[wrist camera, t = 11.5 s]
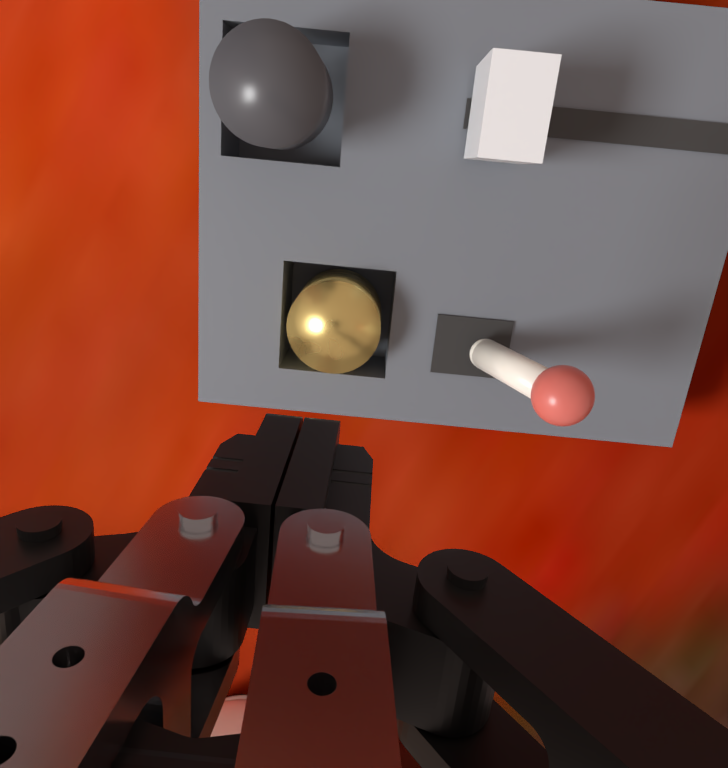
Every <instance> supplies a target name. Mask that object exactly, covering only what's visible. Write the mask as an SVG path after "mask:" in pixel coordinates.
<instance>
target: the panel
mask: <svg viewBox="0 0 728 768" xmlns="http://www.w3.org/2000/svg"><path fill="white" fill-rule="evenodd" d="M259 18H270V19H276V20H280V21H283V22H285V23H287V24H289V25H291V26H293V27H295V28H296V29H298V30H299V31H300V32H301V33H302V34H304V35H305V36H306V37H307V39H308V40H309V41H310V42H311V43H312V45H313V46H314V48H315V49H316V51H317V53H318V54H319V56H320V58H321V59H322V61H323V63H324V64H325V66H326V68H327V70H328V73H329V75H330V78H331V82H332V87H333V105H332V110H331V114H330V117H329V119H328V122H327V123H326V125H325V127H324V129H323V130H322V131H321V133H320V134H319V135H318V136H317V137H316V138H315V139H313V140H312V141H311V142H309V143H308V144H306V145H304V146H301V147H299V148H295V149H290V150H279V149H272V148H266V147H260V146H256V145H252V144H250V143H247V142H245V141H243V140H242V139H240V138H238V137H237V136H236V135H234V134H233V133H232V132H231V131H230V130H229V129H228V128H227V127H226V126H225V125H224V123H223V122H222V121H221V119H220V118H219V116H218V114H217V112H216V110H215V108H214V105H213V103H212V99H211V95H210V90H209V70H210V64H211V61H212V57H213V54H214V52H215V50H216V48H217V46H218V45H219V43H220V42H221V40H222V39H223V38H224V37H225V35H226V34H227V33H228V32H230V31H231V30H232V29H233V28H235V27H236V26H238V25H239V24H242V23H244V22H246V21H249V20H253V19H259ZM492 48H501V49H511V50H522V51H532V52H542V53H552V54H562V56H561V62H560V67H559V73H558V79H557V84H556V90H555V95H554V101H553V107H552V112H551V118H550V124H549V129H548V135H547V141H546V146H545V152H544V158H543V163H542V164H513V163H503V162H493V161H483V160H472V159H464V153H465V146H466V138H467V131H468V124H469V116H470V109H471V102H472V95H473V87H474V80H475V73H476V66H477V65H478V64H479V63H480V62H481V60H482V59H483V58H484V57H485V56H486V55H487V54H488V53H489V52H490V51H491V50H492ZM727 251H728V8H722V7H712V6H701V5H691V4H681V3H671V2H660V1H650V0H200V13H199V379H198V401H202V402H212V403H223V404H233V405H243V406H254V407H264V408H274V409H284V410H295V411H305V412H315V413H325V414H336V415H346V416H356V417H366V418H377V419H387V420H397V421H408V422H418V423H428V424H438V425H449V426H459V427H469V428H479V429H490V430H500V431H510V432H520V433H531V434H541V435H551V436H562V437H572V438H582V439H592V440H603V441H613V442H623V443H633V444H644V445H654V446H664V447H672V445H673V442H674V438H675V435H676V431H677V427H678V424H679V420H680V417H681V413H682V410H683V406H684V403H685V399H686V396H687V392H688V389H689V385H690V382H691V378H692V375H693V371H694V368H695V364H696V361H697V357H698V354H699V350H700V347H701V343H702V339H703V336H704V332H705V329H706V325H707V322H708V318H709V315H710V311H711V308H712V304H713V301H714V297H715V294H716V290H717V287H718V283H719V280H720V276H721V273H722V269H723V266H724V262H725V258H726V255H727ZM332 269H344V270H349V271H353V272H355V273H357V274H359V275H361V276H363V277H364V278H365V279H366V280H368V281H369V282H370V283H371V285H372V286H373V287H374V289H375V290H376V292H377V294H378V297H379V299H380V304H381V334H380V340H379V343H378V346H377V348H376V350H375V352H374V353H373V355H372V356H371V357H370V358H369V360H368V361H366V362H365V363H364V364H363V365H361V366H360V367H358V368H356V369H354V370H352V371H349V372H345V373H339V374H330V373H324V372H320V371H317V370H315V369H313V368H311V367H309V366H308V365H306V364H305V363H304V362H302V361H301V360H300V359H299V358H298V356H297V355H296V354H295V353H294V351H293V349H292V348H291V345H290V343H289V340H288V337H287V328H286V324H287V317H288V313H289V310H290V308H291V306H292V304H293V303H294V301H295V299H296V298H297V296H298V295H299V293H300V292H301V291H302V289H303V288H304V286H305V285H306V284H307V282H308V281H309V280H311V279H312V278H313V277H314V276H316V275H318V274H319V273H321V272H324V271H327V270H332ZM481 339H490V340H493V341H495V342H497V343H499V344H501V345H503V346H505V347H507V348H509V349H511V350H513V351H515V352H517V353H519V354H521V355H523V356H525V357H527V358H529V359H531V360H533V361H535V362H537V363H539V364H541V365H543V366H545V367H547V368H550V367H553V366H557V365H568V366H573V367H575V368H578V369H579V370H581V371H583V372H584V373H585V374H586V375H587V376H588V377H589V379H590V380H591V382H592V384H593V387H594V390H595V402H594V405H593V408H592V410H591V411H590V413H589V414H588V416H587V417H586V418H585V419H583V420H582V421H580V422H579V423H577V424H574V425H571V426H555V425H552V424H549V423H547V422H546V421H544V420H543V419H541V418H540V417H539V416H538V414H537V413H536V412H535V410H534V408H533V406H532V403H531V399H530V398H529V397H527V396H525V395H524V394H522V393H520V392H518V391H517V390H515V389H513V388H512V387H510V386H508V385H506V384H505V383H503V382H501V381H499V380H498V379H496V378H494V377H493V376H491V375H489V374H487V373H486V372H484V371H482V370H481V369H479V368H477V367H476V366H474V364H473V363H472V362H471V360H470V349H471V347H472V345H473V344H474V343H475V342H476V341H478V340H481Z"/></svg>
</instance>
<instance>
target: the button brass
mask: <svg viewBox="0 0 728 768" xmlns="http://www.w3.org/2000/svg"><path fill="white" fill-rule="evenodd" d="M286 328H287V337H288V340H289V343H290V345H291V348H292V349H293V351H294V353H295V354H296V355H297V356H298V358H299V359H300V360H301V361H302V362H304V363H305V364H306V365H308V366H309V367H311V368H313V369H315V370H317V371H320V372H324V373H330V374H339V373H345V372H349V371H352V370H354V369H356V368H358V367H360V366H361V365H363V364H364V363H365V362H366V361H368V360H369V358H370V357H371V356H372V355H373V353H374V352H375V350H376V348H377V346H378V343H379V340H380V334H381V304H380V299H379V297H378V294H377V292H376V290H375V289H374V287H373V286H372V285H371V283H370V282H369V281H368V280H366V279H365V278H364V277H363V276H361V275H359V274H357V273H355V272H353V271H349V270H344V269H332V270H327V271H324V272H321V273H319V274H318V275H316V276H314V277H313V278H312V279H311V280H309V281H308V282H307V284H306V285H305V286H304V288H303V289H302V291H301V292H300V293H299V295H298V296H297V298H296V299H295V301H294V303H293V304H292V306H291V308H290V310H289V313H288V317H287V324H286Z"/></svg>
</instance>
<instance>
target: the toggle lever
mask: <svg viewBox="0 0 728 768" xmlns="http://www.w3.org/2000/svg"><path fill="white" fill-rule="evenodd" d="M470 360H471V362H472V363H473V364H474V366H476V367H477V368H479V369H481V370H482V371H484V372H486V373H487V374H489V375H491V376H493V377H494V378H496V379H498V380H499V381H501V382H503V383H505V384H506V385H508V386H510V387H512V388H513V389H515V390H517V391H518V392H520V393H522V394H524V395H525V396H527V397H529V398H530V399H531V403H532V406H533V408H534V410H535V412H536V413H537V414H538V416H539V417H540V418H541V419H543V420H544V421H546V422H547V423H549V424H552V425H555V426H571V425H574V424H577V423H579V422H580V421H582V420H583V419H585V418H586V417H587V416H588V414H589V413H590V411H591V410H592V408H593V405H594V402H595V390H594V387H593V384H592V382H591V380H590V379H589V377H588V376H587V375H586V374H585V373H584V372H583V371H581V370H579V369H578V368H575V367H573V366H568V365H557V366H553V367H550V368H547V367H545V366H543V365H541V364H539V363H537V362H535V361H533V360H531V359H529V358H527V357H525V356H523V355H521V354H519V353H517V352H515V351H513V350H511V349H509V348H507V347H505V346H503V345H501V344H499V343H497V342H495V341H493V340H490V339H481V340H478V341H476V342H475V343H474V344H473V345H472V347H471V349H470Z"/></svg>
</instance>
